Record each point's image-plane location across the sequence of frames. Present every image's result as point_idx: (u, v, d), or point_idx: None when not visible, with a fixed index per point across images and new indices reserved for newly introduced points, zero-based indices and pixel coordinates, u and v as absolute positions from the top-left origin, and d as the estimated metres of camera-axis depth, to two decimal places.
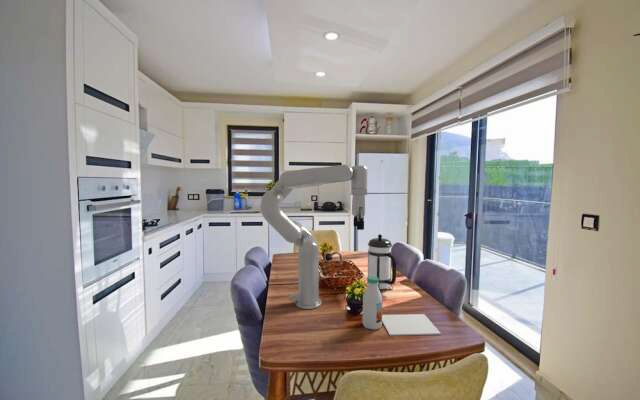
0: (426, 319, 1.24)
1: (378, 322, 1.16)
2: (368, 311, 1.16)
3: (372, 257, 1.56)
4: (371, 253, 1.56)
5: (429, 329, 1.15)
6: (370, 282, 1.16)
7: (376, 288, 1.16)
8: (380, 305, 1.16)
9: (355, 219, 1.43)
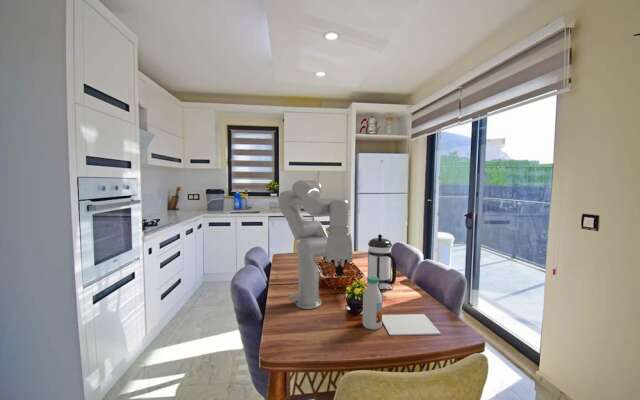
0: (426, 319, 1.24)
1: (378, 322, 1.16)
2: (368, 311, 1.16)
3: (372, 257, 1.56)
4: (371, 253, 1.56)
5: (429, 329, 1.15)
6: (370, 282, 1.16)
7: (376, 288, 1.16)
8: (380, 305, 1.16)
9: (339, 267, 1.16)
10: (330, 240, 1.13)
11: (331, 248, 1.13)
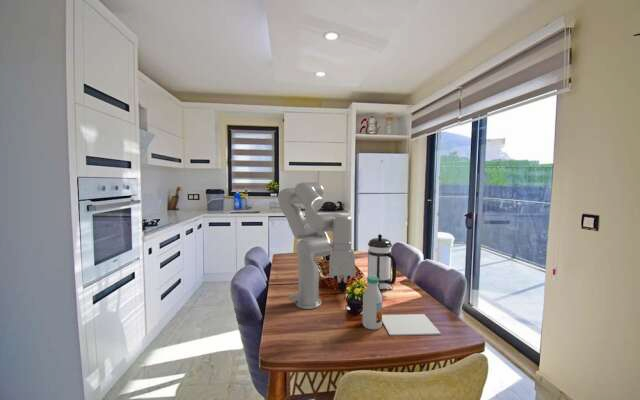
0: (426, 319, 1.24)
1: (378, 322, 1.16)
2: (368, 311, 1.16)
3: (372, 257, 1.56)
4: (371, 253, 1.56)
5: (429, 329, 1.15)
6: (370, 282, 1.16)
7: (376, 288, 1.16)
8: (380, 305, 1.16)
9: None
10: (333, 256, 1.14)
11: (334, 265, 1.14)
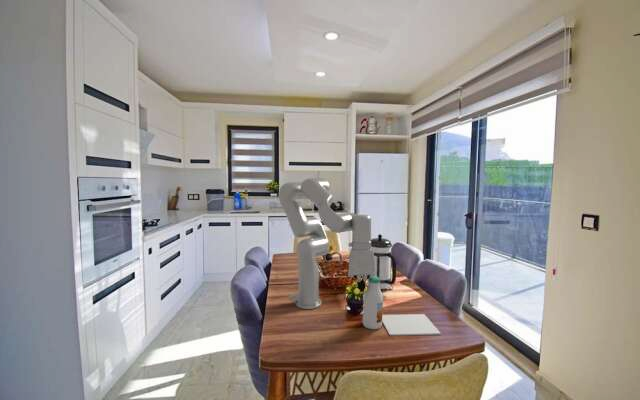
0: (426, 319, 1.24)
1: (378, 322, 1.16)
2: (368, 310, 1.16)
3: None
4: None
5: (429, 329, 1.15)
6: (371, 282, 1.16)
7: (377, 288, 1.16)
8: (381, 305, 1.16)
9: None
10: (353, 256, 1.14)
11: (354, 264, 1.14)
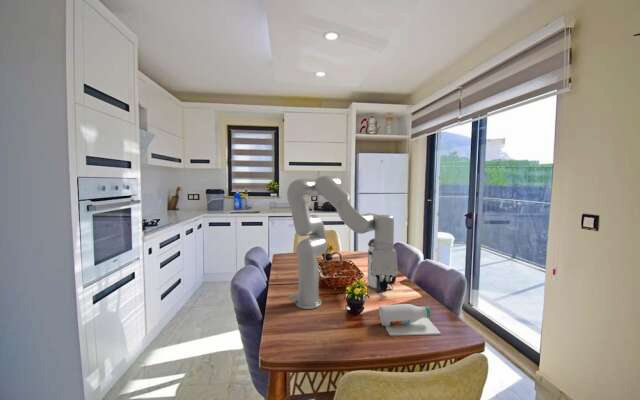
0: (426, 319, 1.24)
1: (390, 323, 1.16)
2: (400, 312, 1.16)
3: None
4: (371, 253, 1.56)
5: (429, 329, 1.15)
6: (427, 310, 1.18)
7: (421, 317, 1.18)
8: (406, 323, 1.17)
9: None
10: (376, 256, 1.15)
11: (376, 264, 1.15)
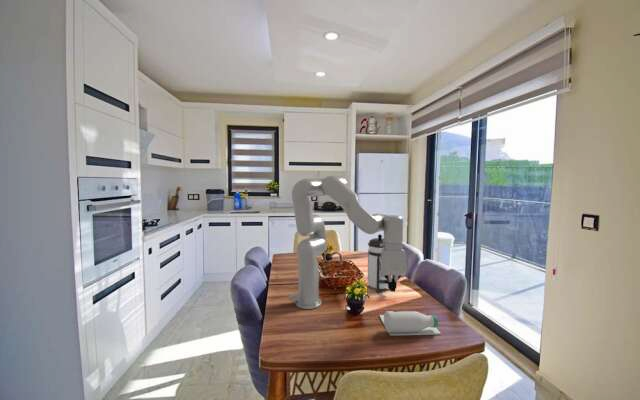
0: None
1: None
2: (407, 331, 1.11)
3: (372, 257, 1.56)
4: (371, 253, 1.56)
5: (429, 329, 1.15)
6: (434, 327, 1.13)
7: None
8: None
9: None
10: (385, 256, 1.15)
11: (386, 264, 1.15)
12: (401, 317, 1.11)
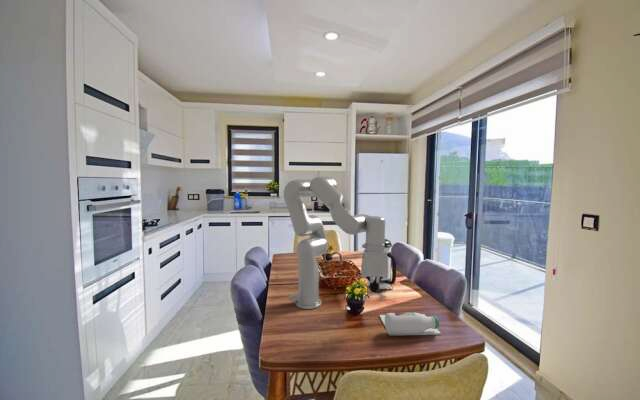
0: None
1: None
2: None
3: None
4: None
5: (429, 329, 1.15)
6: (434, 328, 1.13)
7: None
8: None
9: None
10: (367, 257, 1.15)
11: (367, 265, 1.15)
12: (403, 322, 1.09)
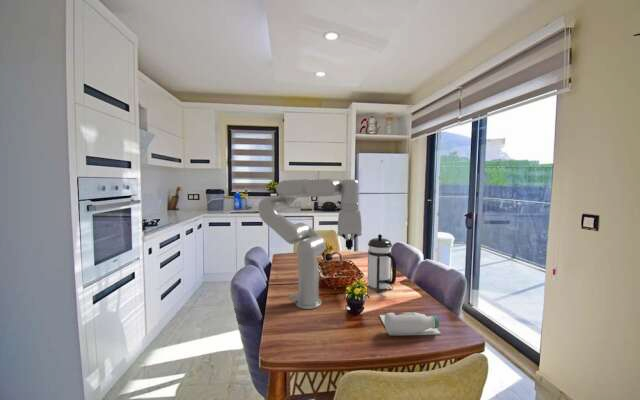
0: None
1: None
2: (407, 333, 1.11)
3: (372, 257, 1.56)
4: (371, 253, 1.56)
5: (429, 329, 1.15)
6: (434, 328, 1.13)
7: None
8: None
9: None
10: (341, 216, 1.25)
11: (342, 223, 1.25)
12: (403, 321, 1.09)
